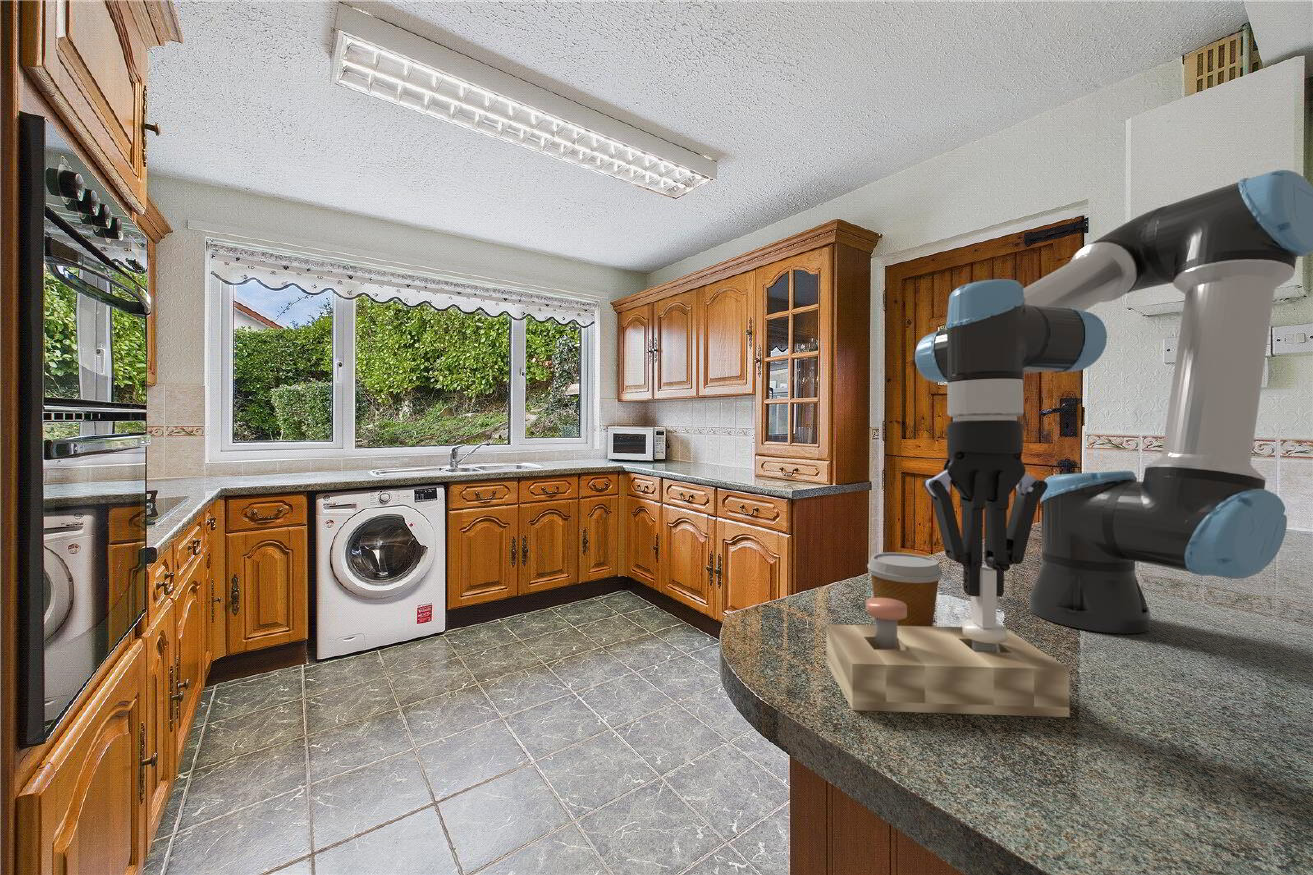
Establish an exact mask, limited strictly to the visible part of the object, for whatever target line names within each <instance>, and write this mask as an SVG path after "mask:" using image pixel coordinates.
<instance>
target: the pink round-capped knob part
mask: <svg viewBox="0 0 1313 875" xmlns="http://www.w3.org/2000/svg"><path fill="white" fill-rule="evenodd" d="M865 612H866V614H867V615H868V616H871V617H873V618H874V625H875V645H876V646H878V647H881V648H884V649H895V648H897V620H900V619H904V618H906V617H907V605H906V604H905V603H904V602H902V601H899V600H895V599H890V598H874V597H871V598H867V599H865Z"/></svg>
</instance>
